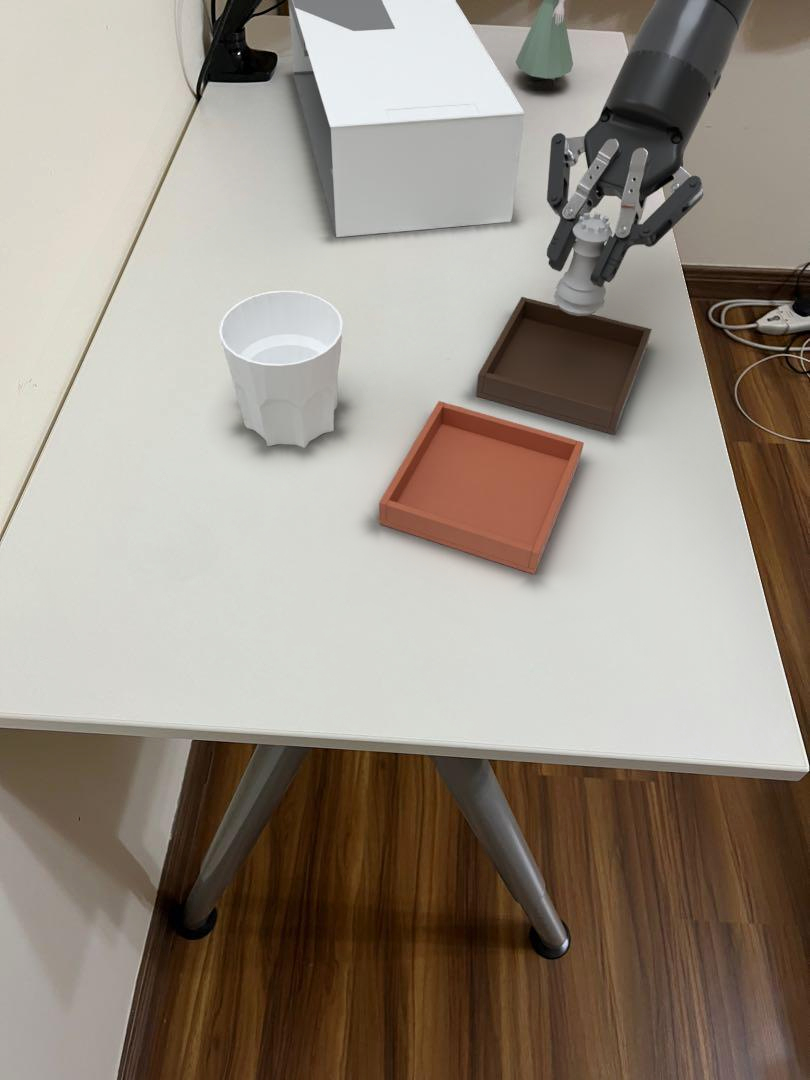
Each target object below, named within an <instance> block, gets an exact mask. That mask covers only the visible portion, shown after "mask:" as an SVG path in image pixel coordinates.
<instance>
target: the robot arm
mask: <svg viewBox="0 0 810 1080" xmlns="http://www.w3.org/2000/svg"><path fill="white" fill-rule="evenodd" d="M753 2H754V0H655V2H654V3H653V6H652V7H651V9H650V11H649V12H648V13H647V15H646V17H645V18H644V20H643V22H642V23H641V26H640V27H639V29H638V31H637V33H636V35H635V38H634V40H633V42H632V44H631V46H630V49H629V51H628V53H627V55H626V57H625V60H624V62H623V64H622V66H621V68H620V70H619V72H618V75H617V77H616V79H615V81H614V83H613V86H612V88H611V90H610V92H609V95H608V96H607V98H606V101H605V103H604V105H603V108H602V109H601V112H600V115H599V117H598V120H597V121H596V122H595V123H594V125H593V126H591V128H589V129H588V130H587V131H586V133H585V135H584V136H583V135H581V136H573V137H566V136H565V134H564V133H562V132H557V133H555V134H553V136H552V138H551V140H550V152H549V166H548V179H547V191H546V192H547V193H546V202H547V203H548V205H549V206H550V208H551V210H552V211H553V212H554V214H555V215H557V216H558V217H559V222H558V225H557V227H556V229H555V231H554V233H553V235H552V238H551V240H550V242H549V244H548V246H547V248H546V257H547V258H548V266H549V267H550V268H551V269H552V270H553V271H557V272H562V270H563V269H564V267H565V265H566V262H567V261H568V258H569V257H570V253H571V251H572V250H573V243H574V242H575V241H576V240H577V238H576V236H575V235H574V232H573V227H574V225H576V224H577V223H578V222H579V218H580V216H582V217H583V216H584V214H585V213H590V214H591V212H592V210H593V209H595V208H597V207H598V206H599V204H600V203H601V201H602V200H603V199H604V197H605V196H606V197H617V198H618V199H620V200H621V201H620V211H619V213H618V214H619V215H618V218H617V221H616V224H615V225H616V226H615V229H614V233H613V236H609V238H608V240H607V241H606V242H605V243H604V245H605V247H604V249H603V251H602V253H601V255H600V257H599V259H598V261H597V263H596V266H595V268H594V270H593V272H592V274H591V277H590V280H591V282H592V283H593V285H596V286H599V287H602V286H603V285H604V286H605V283H606V282H607V283H611V282H612V281H613V280H614V279H615V277H616V275H617V274H618V271H619V269H620V266H621V265H622V262H623V260H624V259H625V256H626V254H627V252H628V251H629V249H630V248H631V247H633V246H642V245H643V246H645V247H647V248H651V247H654V246H655V245H656V244H657V243H658V242H659V241H660V240H662V238H664V236H665V235H666V234H667V233H668V232H670V231H671V229H673V227H675V225H677V224H678V223H679V222H680V220H681V219H683V218H684V217H685V216H686V215H687V214H688V213H689V212H690V211H691V210H692V209H693V208H694V207H695V206H696V205H697V204H698V203H699V202H700V201H701V200H702V199H703V197H704V188H703V182H702V179H701V178H700V176H698V175H691V174H690V173H689V172H688V170H686V169H685V168H684V153H685V150H686V149H687V146H688V145H689V142H690V140H691V139H692V136H693V134H694V132H695V130H696V127H697V126H698V123H699V122H700V119H701V118H702V116H703V113H704V111H705V109H706V107H707V105H708V103H709V101H710V99H711V96H712V94H713V93H714V91H715V90H716V89H717V87H718V86H719V85H718V84H719V83H720V81H721V79H722V74H723V72H724V70H725V67H726V65H727V62H728V60H729V57H730V55H731V52H732V48H733V45H734V42H735V40H736V37H737V35H738V33H739V31H740V29H741V27H742V25H743V23H744V21H745V19H746V17H747V14H748V13H749V11H750V8H751V6H752V4H753ZM582 154H584V155H585V160H586V166H587V170H586V172H585V173H584V174H583V176H582V177H581V179H580V180H579V181H578V183H577V185H576V188H575V189H576V190H575V191H574V193H573V194H572V196H571V197H570V198H569V192H570V191H569V190H570V178H571V176H570V175H571V167H574V166H575V165H577V163H578V161H579V158H580V156H581V155H582ZM672 181H673V183H672V185H671V186H670V188H669V195H670V196H669V197H667V199H666V200H665V201H663V203H662V204H661V205H660V206H658V208H657V209H656V210H654V211H653V212H652V213H651V214H650V216H649V217H647V219H645V220H644V221H643V223H640V222H641V220H642V219H643V214H644V211H645V207H646V202H647V199H648V198H649V197H650V196H651V195H653V194H654V193H656V192H657V191H659V190H661V189H662V188H663V187H665V186H666V185H668V184H669V183H671V182H672Z"/></svg>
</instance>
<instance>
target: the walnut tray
mask: <svg viewBox="0 0 810 1080" xmlns="http://www.w3.org/2000/svg"><path fill="white" fill-rule="evenodd" d="M651 334H652V328H649V327H646V326H645V327H644V326H641V325H638V324H637V325H636V324H633V323H628V322H624V321H620V320H616V319H614V318H613V319H612V318H609V317H605V316H601V315H596V314H594V313H593V314H590V315H587V316H576V315H571V314H568V313H566V312H564V311H562V310H561V309H560V307H559V306H558V305H557V304H553V303H549V302H544V301H540V300H537V299H533V298H528V297H524V296H521V297H520V299H519V300H518V303H517V304H516V306H515V308H514V310H513V311H512V312H511V315H510V317H509V319H508V320H507V322H506V324H505V326H504V327H503V329H502V331H501V333H500V335H499V336H498V337H497V340H496V341H495V344H494V345H493V347H492V349H491V350H490V352H489V354H488V356H487V358H486V360H485V361H484V363H483V365H482V367H481V369H480V370H479V372H478V373H477V382H476V390H475V391H476V392H475V396H476V397H477V398H478V397H479V398H481V399H486V400H489V401H491V402H495V403H498V404H499V403H500V404H503V405H507V406H510V407H514V408H517V409H521V410H523V411H528V412H531V413H535V414H538V415H543V416H546V417H549V418H553V419H557V420H560V421H564V422H568V423H571V424H574V425H577V426H581V427H584V428H588V429H592V430H595V431H599V432H602V433H606V434H609V435H613V436H615V434H616V431H617V429H618V426H619V424H620V421H621V418H622V415H623V413H624V410H625V407H626V404H627V401H628V399H629V397H630V394H631V391H632V389H633V386H634V383H635V381H636V377H637V375H638V372H639V369H640V367H641V364H642V361H643V359H644V356H645V353H646V351H647V347H648V344H649V341H650V338H651V337H650V336H651Z"/></svg>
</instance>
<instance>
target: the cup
mask: <svg viewBox="0 0 810 1080" xmlns="http://www.w3.org/2000/svg"><path fill="white" fill-rule="evenodd" d="M343 329H344V322H343V319H342V316H341V313H340V312H339V311H338V310H337V308H336V307H335V306H334V305H333V304H332V303H330V302H329V301H328V300H326V299H324V298H322V297H320V296H317V295H316V294H315V295H314V294H313V293H309V292H304V291H299V290H275V291H274V290H273V291H266V292H262V293H257V294H254V295H252V296H249V297H247V298H245V299H242V300H240V301H239V302H237V303H236V304H235V305H233V306H232V307H230V308H229V309H228V311H226V313H225V314H224V316H223V317H222V318H221V321H220V324H219V327H218V332H219V339H220V342H221V345H222V349H223V353H224V355H225V360H226V362H227V366H228V370H229V373H230V376H231V379H232V383H233V386H234V390H235V393H236V398H237V401H238V405H239V408H240V411H241V416H242V420H243V423H244V426H245V428H246V429H250V430H252V431H255V432H256V433H257V434H258V435H259V436H260V437H262V438H263V439H264V440H265V443H266V446H267V447H271V446H276V445H289V446H290V445H293V446H297V447H301V448H303V449H306V447H307V445H308V444H309V443H310V442H311V441H313V440H315V439H317V438H318V437H320V436H321V435H323V434H326V433H331V432H334V430H335V429H334V425H335V424H334V423H335V410H336V409H337V407H338V385H339V367H340V360H341V351H342V340H343Z"/></svg>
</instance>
